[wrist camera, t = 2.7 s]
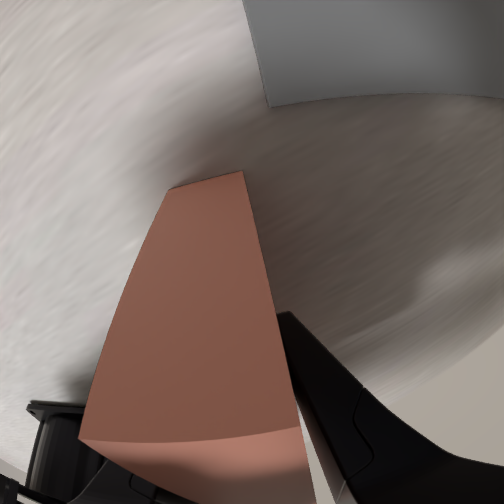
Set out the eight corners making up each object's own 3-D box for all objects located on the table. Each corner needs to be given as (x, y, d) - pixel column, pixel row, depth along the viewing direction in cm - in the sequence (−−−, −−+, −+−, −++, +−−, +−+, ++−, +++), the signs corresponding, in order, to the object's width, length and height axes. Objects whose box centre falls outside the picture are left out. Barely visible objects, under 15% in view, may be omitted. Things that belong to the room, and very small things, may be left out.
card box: (237, 371, 12) (252, 521, 6) (165, 190, 7) (73, 438, 2) (286, 361, 12) (318, 511, 6) (242, 170, 7) (301, 426, 2)
